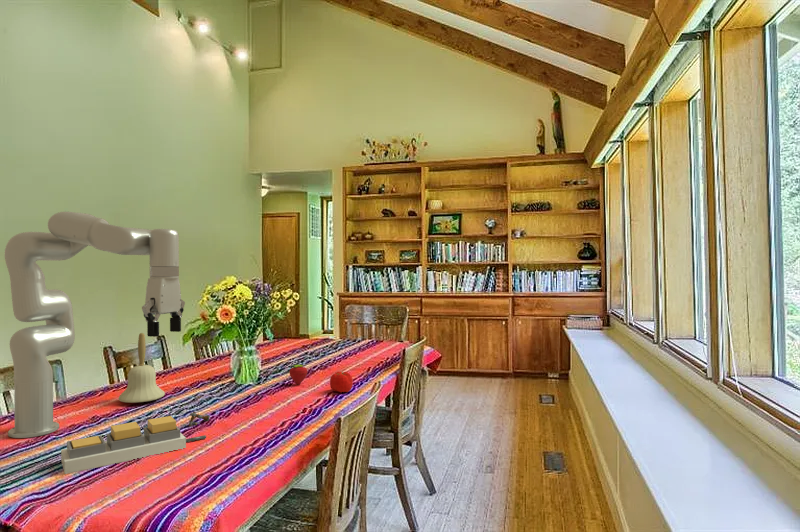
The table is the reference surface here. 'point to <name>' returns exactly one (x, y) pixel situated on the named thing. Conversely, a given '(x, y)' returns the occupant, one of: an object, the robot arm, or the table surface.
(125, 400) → the handbell
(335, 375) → the tomato
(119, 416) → the table surface
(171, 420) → the button right
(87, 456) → the strip
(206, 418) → the wooden post with brackets
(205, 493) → the table surface
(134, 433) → the button middle
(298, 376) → the strawberry
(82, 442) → the button left
